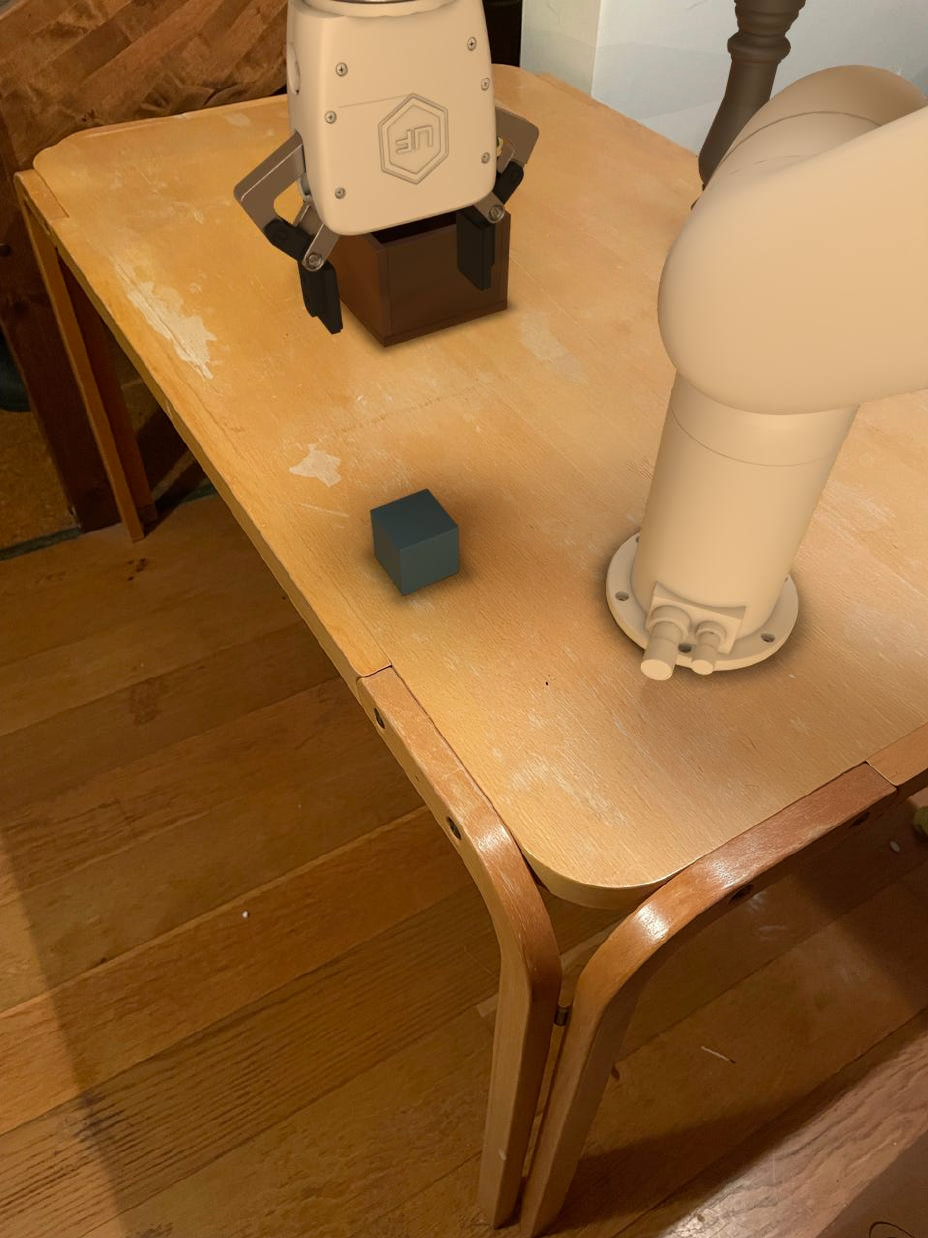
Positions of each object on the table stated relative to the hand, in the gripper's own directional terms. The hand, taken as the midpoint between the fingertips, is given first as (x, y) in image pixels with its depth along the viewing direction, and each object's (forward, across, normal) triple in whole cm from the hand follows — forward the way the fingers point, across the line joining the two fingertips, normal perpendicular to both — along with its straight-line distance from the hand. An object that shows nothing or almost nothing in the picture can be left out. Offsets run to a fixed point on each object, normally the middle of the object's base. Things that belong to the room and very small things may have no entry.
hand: (402, 300), depth 53 cm
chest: (+16, +12, +28) cm, 34 cm away
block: (+16, -3, -5) cm, 18 cm away
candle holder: (+17, +42, +18) cm, 48 cm away
